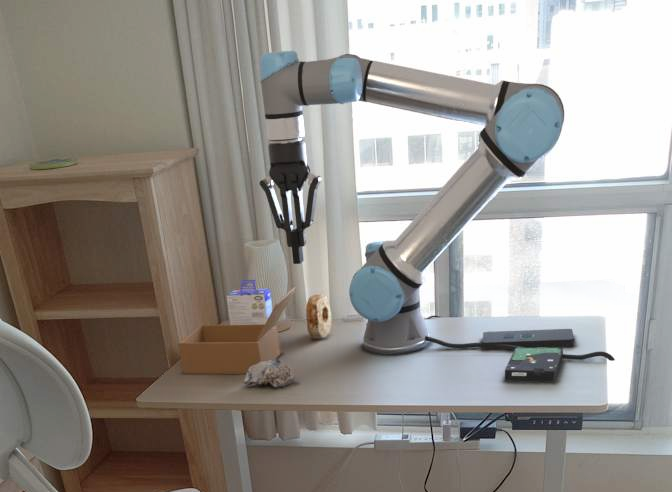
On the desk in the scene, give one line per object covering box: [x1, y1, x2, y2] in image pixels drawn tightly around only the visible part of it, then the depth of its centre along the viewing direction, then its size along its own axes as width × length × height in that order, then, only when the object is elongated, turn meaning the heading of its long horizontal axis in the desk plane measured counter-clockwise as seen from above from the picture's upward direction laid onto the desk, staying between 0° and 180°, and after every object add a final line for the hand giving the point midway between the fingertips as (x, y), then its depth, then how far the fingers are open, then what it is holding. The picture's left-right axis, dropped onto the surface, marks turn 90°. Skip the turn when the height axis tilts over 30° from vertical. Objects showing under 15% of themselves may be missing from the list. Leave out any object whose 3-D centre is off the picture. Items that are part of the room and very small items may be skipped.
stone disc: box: [305, 294, 332, 340], centre depth 224 cm, size 10×4×10 cm, turn 161°
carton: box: [177, 323, 282, 375], centre depth 213 cm, size 19×14×7 cm
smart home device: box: [482, 328, 575, 350], centre depth 210 cm, size 8×2×20 cm
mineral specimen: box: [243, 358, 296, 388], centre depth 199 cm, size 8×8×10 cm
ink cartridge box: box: [225, 279, 273, 325], centre depth 224 cm, size 10×6×14 cm, turn 78°
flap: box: [257, 286, 297, 340], centre depth 206 cm, size 9×14×1 cm
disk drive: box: [504, 347, 564, 383], centre depth 193 cm, size 10×3×15 cm
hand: (298, 262), depth 199 cm, fingers closed
